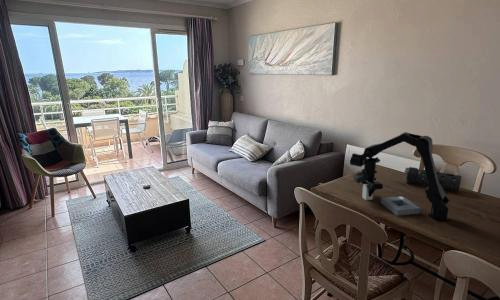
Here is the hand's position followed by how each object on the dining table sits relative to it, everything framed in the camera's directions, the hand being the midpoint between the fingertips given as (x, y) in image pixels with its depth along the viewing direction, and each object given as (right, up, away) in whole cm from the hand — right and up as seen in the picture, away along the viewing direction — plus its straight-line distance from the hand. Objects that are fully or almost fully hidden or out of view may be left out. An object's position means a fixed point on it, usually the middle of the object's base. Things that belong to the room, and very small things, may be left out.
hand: (367, 194), depth 157 cm
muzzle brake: (+43, +3, +12) cm, 45 cm away
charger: (0, -2, +1) cm, 2 cm away
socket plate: (+12, -5, -12) cm, 17 cm away
